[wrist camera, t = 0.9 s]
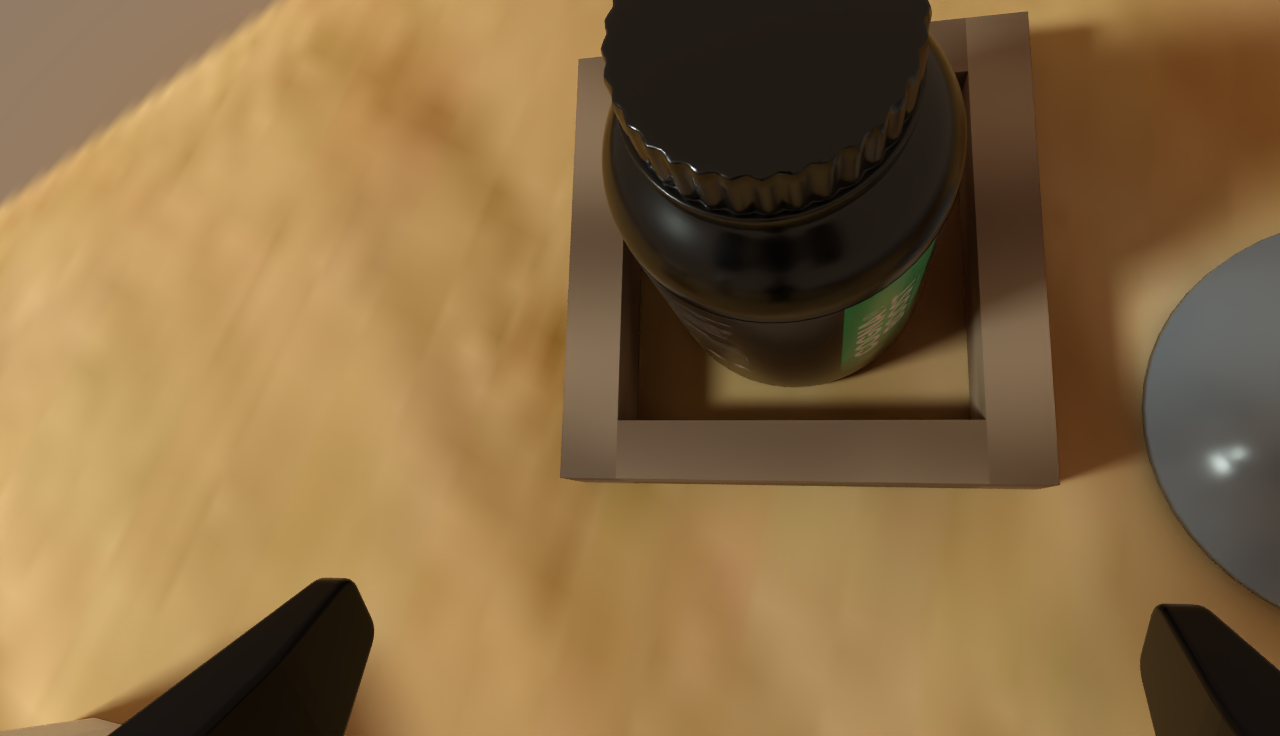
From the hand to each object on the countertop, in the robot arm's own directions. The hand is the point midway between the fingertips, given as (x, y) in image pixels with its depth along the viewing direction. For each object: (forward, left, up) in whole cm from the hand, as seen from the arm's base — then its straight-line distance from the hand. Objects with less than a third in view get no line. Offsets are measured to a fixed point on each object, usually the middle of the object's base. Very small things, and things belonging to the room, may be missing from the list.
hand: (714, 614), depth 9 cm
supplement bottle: (+7, -5, -13) cm, 16 cm away
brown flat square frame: (+7, -5, -13) cm, 15 cm away
